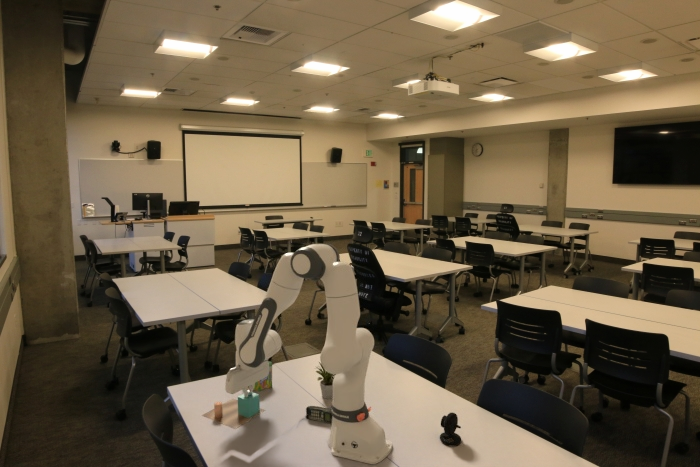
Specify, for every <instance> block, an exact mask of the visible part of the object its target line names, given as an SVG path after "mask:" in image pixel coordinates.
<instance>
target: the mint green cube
mask: <svg viewBox="0 0 700 467" xmlns="http://www.w3.org/2000/svg"><path fill="white" fill-rule="evenodd" d="M237 400H238V414H239V415H242V416H244V417H247V418H250V417H252V416H254V415H255V414H257V413H258V412H260V408H261V407H260V403H261V402H260V394H259V393H256V392H253V394H252V395H250V396H248V397H245V396H244V393H242V394H240V395H238V396H237Z"/></svg>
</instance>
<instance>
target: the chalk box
mask: <svg viewBox="0 0 700 467" xmlns="http://www.w3.org/2000/svg"><path fill="white" fill-rule="evenodd" d="M267 361H268V362H269V374H268V376H267V377H265V378H263V379H261V380H259V381H257V382H256V383H255V386H254V388H253V391H254V390H255V391H257V392H261V391H262V390H264V389H265V388H267V389H270V388H273V362H272V361H269V360H267ZM248 388H249V386H248Z"/></svg>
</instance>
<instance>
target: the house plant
mask: <svg viewBox="0 0 700 467" xmlns="http://www.w3.org/2000/svg"><path fill="white" fill-rule="evenodd" d="M318 364H319V366H315V368H314V369H315V373H317V374H319V375H320V376H318V377H317V381H318V382H319V386H320V391H321V397H322V399H325V400H331V399H332V400H333V380H334V377H335V375H336V374H331V373H329V372H327V371H326V370H325V369H324V368H323V366H322V364H321V361H318ZM316 369H318V370H316Z"/></svg>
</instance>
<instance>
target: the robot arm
mask: <svg viewBox="0 0 700 467" xmlns="http://www.w3.org/2000/svg"><path fill="white" fill-rule="evenodd" d="M340 257H341V256H340V252H339V250H338V248H336V246H334V245H333V244H330V243H325V242H324V243H312V244H309V245H307V246H302V247H300V248H298V249H297V250H296V251H295V252H287V253H284V254H282V255H281V257H280V259H279V260H278V263H277V264H276V266H275V269H274V271H273V274H272V277H271V280H270V283H269V286H268V288H267V290H266V293H265V295H264V298H263V299H262V302H261V304H260V305H259V308H258V309H257V312H256V313H255V317H254V319H253V318H249V319H244V320H242V321H240V322H238V323H237V324H236V327H235V332H234V333H235V334H234V341H235V342H234V344H235V349H236V351H235V366H234V367H232V368H230V369H229V370H228V372H227V373H226V378H225V388H224V389H225V392H226V393H228V394H230V395H234V394H236V393H238V392H240V391H242V392H243V394H244V396H245V397H248V396H250V395H252V394H253V393H254V392H253V391H254V390H253V388H254V386H255V383H256V382H257V381H259V380H261V379H263V378H265V377H267V376H268V374H269V362H268V361H269V359H270V358H271V357H273V356H275V354H276V355H277V354H278V352H280V351H281V349H282V346H283V341H282V340H283V339H282V337H281V334H279V332H277V330H274V329H271V327H272V325H273V323H274V321H275V320H276V318H278V317H279V316H280V314H282V313H283V312H285V311H286V310H287V309H288V308H289V307H291V306H292V305H294V303H295V302H296V299H297V298H298V296H299V294H300V292H301V290H302V286H303V282H304V280H305V279H307V280H311V281H314V282H319V280H320V281H321V282H322V284H323V287H324V294H325V300H326V312H327V329H326V335H325V336H326V337H325V342H324V346H323V347H322V349H321V352H320V356H319V360H320V363H321V364H322V366H323V368H324V369H325V370H326V371H327V372H329V373H331V374H336V375H335V377H334V380H333V398H332V402H331V408H330V409H331V414H332V423H331V427H330V433H329V436H328V441H327V443H328V446H329V447H330V449H331V455H332V456H335V457H339V458H344V459H349V460H352V461H356V462H361V463H365V464H369V465H370V464H371V465H376V464H378V463H380V462H382V461H383V460H384V459H386V458H387V457H388V456H389V454H390V453H391V452H392V449H393V442H392V441H391V440H389V439H387V437H386V433H385V429H384V428H383V426H382V425H380V424H379V423H378V422H377V420H376V419H374V417H372V416H371V415H370V412H371V410H372V409H371V408H372V406H369V407H367V404H366V402H365V387H366V386H365V385H366V377H367V372H368V367H369V363H370V358H371V354H372V351H373V350H374V346H375V338H374V335H373V334H372V332H370V330H369V329H367V328H364V327H358V322H359V320H360V317H361V309H360V308H361V307H360V300H359V292H358V286H357V281H356V277H355V274H354V270H353V268H352V266H351V264H349V263H347V262H344V261H340ZM326 371H325V372H326ZM248 386H249V388H248Z"/></svg>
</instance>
